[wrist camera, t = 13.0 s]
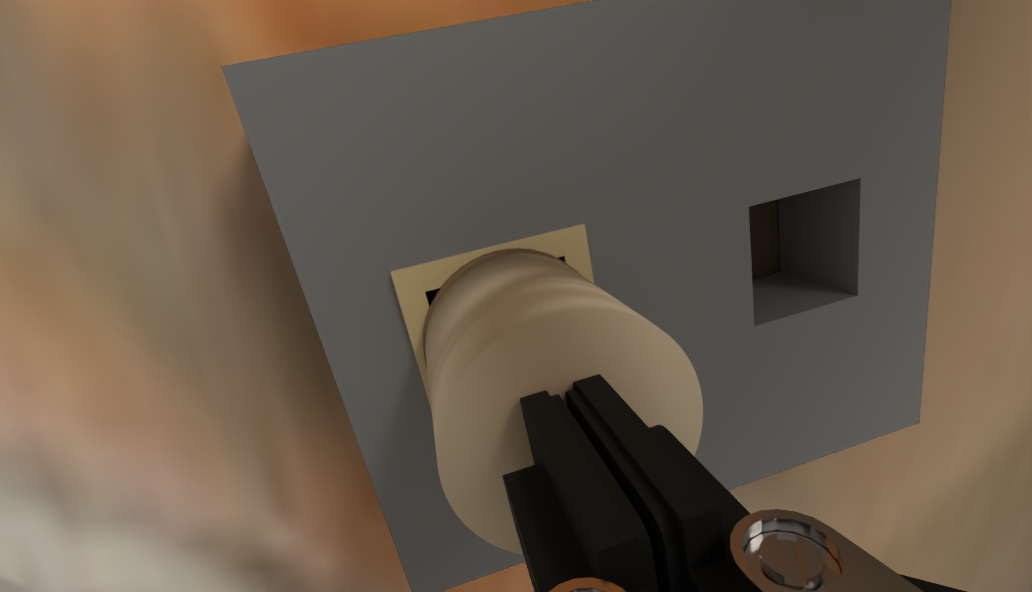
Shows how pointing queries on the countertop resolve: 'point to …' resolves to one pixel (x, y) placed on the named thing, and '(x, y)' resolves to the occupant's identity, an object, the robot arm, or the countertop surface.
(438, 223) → the seat block
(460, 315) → the peg
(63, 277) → the countertop surface
